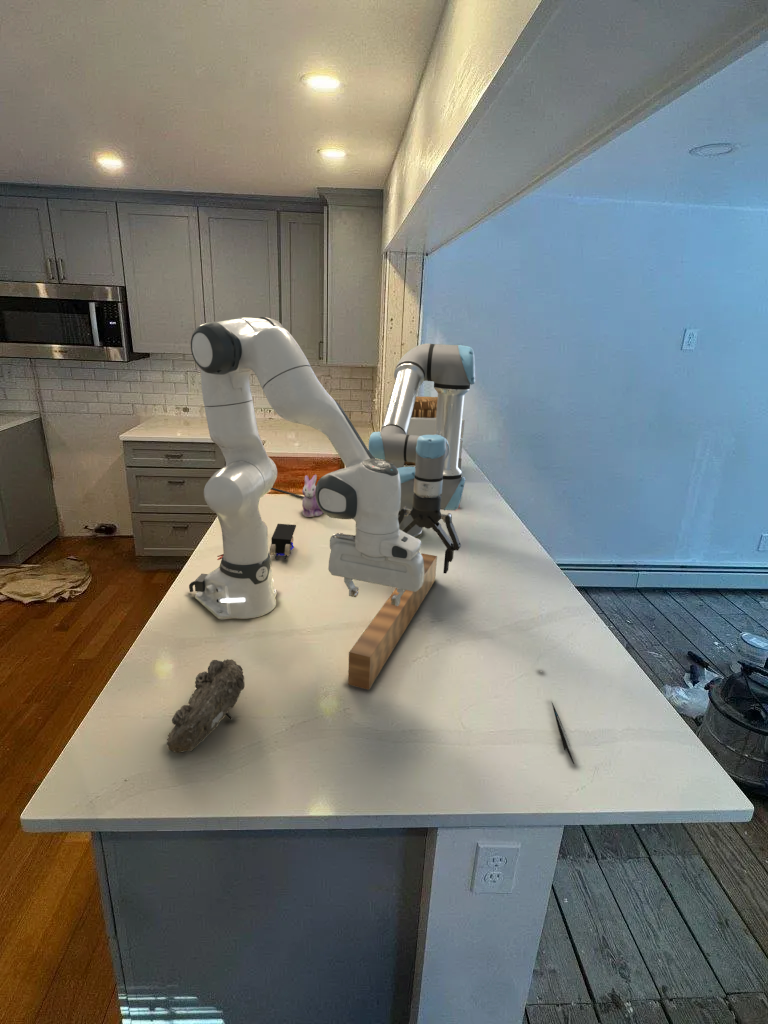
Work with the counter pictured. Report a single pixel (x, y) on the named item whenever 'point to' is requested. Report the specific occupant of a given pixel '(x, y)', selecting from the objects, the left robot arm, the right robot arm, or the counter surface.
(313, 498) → the figurine
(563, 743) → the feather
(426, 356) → the right robot arm
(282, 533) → the figurine character
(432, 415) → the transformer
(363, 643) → the post
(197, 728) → the fossil
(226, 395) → the left robot arm
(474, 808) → the counter surface
